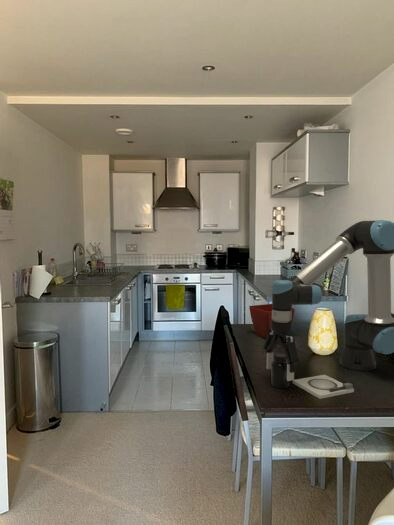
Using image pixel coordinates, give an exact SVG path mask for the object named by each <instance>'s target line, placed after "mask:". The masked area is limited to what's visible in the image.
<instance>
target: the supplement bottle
mask: <svg viewBox="0 0 394 525" xmlns="http://www.w3.org/2000/svg"><path fill="white" fill-rule="evenodd" d="M287 363H289V362H288V359H287V357H286V354H285V353H275V354H274V357H273V362H272V364H271V369H270V370H271V376H270V377H271V378H270V380H271V383H270V384H271V386H272V387H274V388H276V389H287V388H288V387H289V386H290V381H287Z"/></svg>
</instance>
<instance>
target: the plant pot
mask: <svg viewBox="0 0 394 525" xmlns="http://www.w3.org/2000/svg"><path fill="white" fill-rule="evenodd" d="M248 308H249V314H250V318H251V322H252V326H253V330H254V331H255V334H256V335H257V336H259V337H262V338H263V339H266V338H267V336H268V330H269V329H271V321H272V320H273V319H272V303H266V304H265V303H264V304H255V305H249V306H248ZM295 310H296V309H295V308H293V307H292V320H291V325H292V323H293V319H294V315H295Z"/></svg>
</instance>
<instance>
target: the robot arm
mask: <svg viewBox="0 0 394 525" xmlns="http://www.w3.org/2000/svg"><path fill="white" fill-rule="evenodd" d="M361 249H362V254H363V256H365V257H366V259H367V260H366V262H367V264H366V266H367V269H366V270H367V271H366V272H367V304H368V305H367V309H368V310H367V312H368V313H367V314H358V313H357V314H356V313H355V314H348V315H346V316H345V321H344V347H343V349H342V353H341V356H340V357H339V364H340V365H341V367H343V368H346V369H350V370H353V371H361V372H362V371H363V372H368V371H373V370H376V368H377V361H376V359H375V355H374V351H375V352H376V353H379V354H383V355H390V354H393V353H394V317H393V316H392V286H391V284H392V281H391V278H392V277H391V276H392V275H391V273H392V272H391V269H392V268H391V258H392V256H394V222H393V221H391V220H384V219H378V220H377V219H376V220H361V221H358V222H355V223H354V224H352V225H350V226H349V227H347V228H346V229H344V231H342V232H341V233H340V234H338V235H337V236H336V238H335V241H334V242H333V243H332V244H330V245H329V246H328V247H327V248H326V249H324V250H323V251H322V252H320V254H318V255H317V256H316V257H315V258H313V259H312V260H311V261H310V262H309V263H308V264H306V265H304V267H302V269H300V270H299V271H298V272H297V273H295V274H294V275H293V276H292V277H291V278H289V279H276V280H273V283H272V289H271V296H272V297H271V304H272V319H273V320H272V321H271V329H269V330H268V336H267V338H265V342H264V344H263V349H262V350H265V352H266V370H271V364H272V362H273V361H274V355H275V354H274V350H275V348H276V346H277V345H279V346H281V348H282V349H283V352H284V355H286V357H287V362H288V363H287V381H289V382H290V381H293V380H295V372H296V371H295V370H296V365H297V364H299V363H300V360H299V355H298V351H297V347H296V342H295V341H296V339H295V336H293V335H292V336H290V334H289V333H290V332H291V331H292V324H291V320H292V308H293V306H298V305H299V306H301V305H302V306H303V305H304V306H305V305H306V306H307V305H308V306H309V305H310V306H313V305H318V304H320V303H321V301H322V298H323V292H322V288H321V287H320V286H319V285H316V284H315V285H314V283H315V282H316V281H317V280H318V279H320V278H321V277H322V276H323V275H324V274H326V273H327V272H328V271H329V270H330V269H332V268H333V267H334V266H335V265H337V264H338V263H339V262H341V261H342V259H344V258H345V257H346V256H347V255H352V254H354V253H355V252H356V251H358V250H361ZM292 321H293V320H292Z"/></svg>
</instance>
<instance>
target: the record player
mask: <svg viewBox="0 0 394 525" xmlns="http://www.w3.org/2000/svg"><path fill="white" fill-rule="evenodd" d="M292 384H294V385H295V386H297V387H298V388H300V389H303V390H304V391H306V392H307V393H309V394H311V395H312V396H314V397H316V398H318V399H319V400H321V399H325V398H326V399H327V398H331V397H336V396H340V395H346V394H352V393H355V388H353V386H354V385H353V383H350V382H345V383H342V382H340V381H338V380H337V379H335V378H332V377H330V376H328V375H326V374H320V375H314V376H309V377H302V378H298V379H294V380H292Z"/></svg>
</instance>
